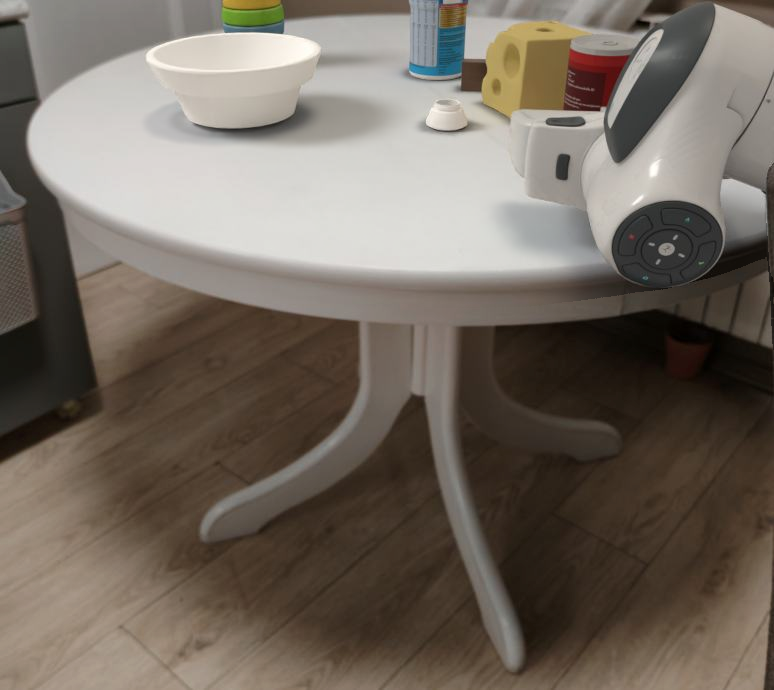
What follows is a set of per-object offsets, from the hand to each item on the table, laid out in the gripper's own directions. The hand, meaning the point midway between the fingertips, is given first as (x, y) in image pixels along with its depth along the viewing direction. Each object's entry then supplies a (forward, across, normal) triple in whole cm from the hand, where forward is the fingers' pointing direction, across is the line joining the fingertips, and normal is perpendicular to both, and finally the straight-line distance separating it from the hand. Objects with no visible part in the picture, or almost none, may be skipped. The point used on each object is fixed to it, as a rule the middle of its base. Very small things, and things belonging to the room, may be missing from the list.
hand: (614, 115), depth 77 cm
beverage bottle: (+43, +20, +8) cm, 48 cm away
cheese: (+26, +6, +8) cm, 28 cm away
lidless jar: (+18, +17, +8) cm, 26 cm away
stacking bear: (+47, +48, +8) cm, 68 cm away
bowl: (+19, +43, +7) cm, 48 cm away
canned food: (+15, 0, +8) cm, 17 cm away
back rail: (+35, +4, +7) cm, 36 cm away
